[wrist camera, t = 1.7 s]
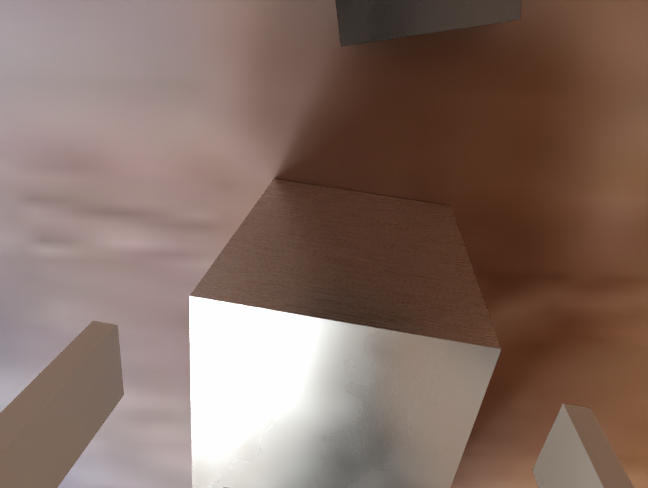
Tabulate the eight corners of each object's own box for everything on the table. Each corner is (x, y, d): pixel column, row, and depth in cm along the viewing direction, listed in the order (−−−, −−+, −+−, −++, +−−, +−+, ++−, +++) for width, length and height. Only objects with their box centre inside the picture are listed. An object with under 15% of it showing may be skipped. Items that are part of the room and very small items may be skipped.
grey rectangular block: (273, 178, 19) (189, 296, 11) (450, 205, 18) (501, 349, 10) (263, 322, 22) (192, 495, 14) (413, 348, 22) (430, 542, 14)
